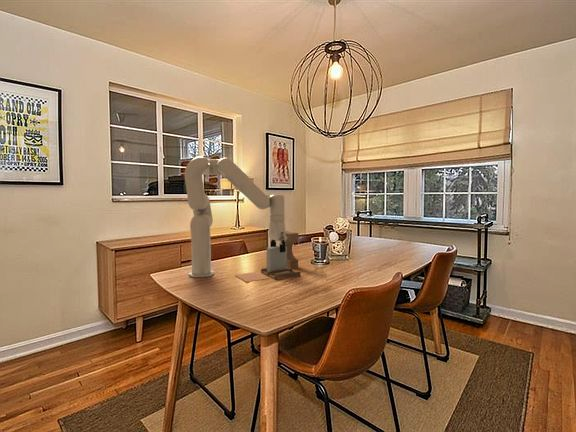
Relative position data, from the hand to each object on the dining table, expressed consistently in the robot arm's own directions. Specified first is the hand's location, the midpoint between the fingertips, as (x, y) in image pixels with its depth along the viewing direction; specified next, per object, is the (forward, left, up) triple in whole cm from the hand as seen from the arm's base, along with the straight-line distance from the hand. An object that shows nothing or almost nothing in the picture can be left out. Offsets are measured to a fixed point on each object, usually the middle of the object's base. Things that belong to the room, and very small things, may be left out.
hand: (277, 250), depth 167 cm
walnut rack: (+4, -1, -12) cm, 13 cm away
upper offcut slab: (+7, -1, -12) cm, 14 cm away
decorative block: (-9, +12, -12) cm, 20 cm away
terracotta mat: (+1, -16, -12) cm, 20 cm away
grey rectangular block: (0, -1, -12) cm, 12 cm away
